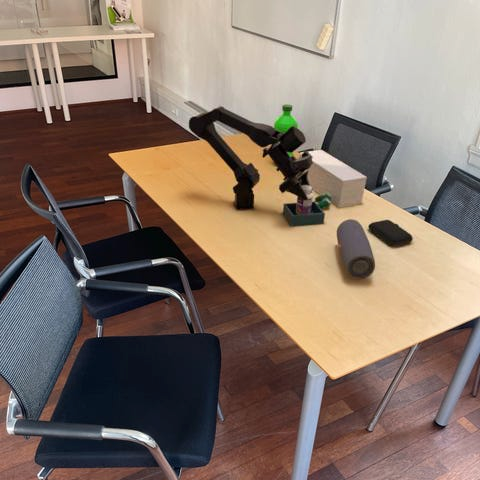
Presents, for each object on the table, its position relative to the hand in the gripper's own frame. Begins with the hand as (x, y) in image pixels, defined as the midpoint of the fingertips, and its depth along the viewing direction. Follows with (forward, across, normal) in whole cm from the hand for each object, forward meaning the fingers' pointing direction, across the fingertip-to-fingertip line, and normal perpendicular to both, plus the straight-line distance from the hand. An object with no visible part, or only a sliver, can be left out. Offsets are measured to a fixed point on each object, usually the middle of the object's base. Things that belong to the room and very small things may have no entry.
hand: (308, 196), depth 165 cm
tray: (+6, 0, +7) cm, 9 cm away
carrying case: (+28, +1, -16) cm, 32 cm away
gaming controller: (+8, +14, +5) cm, 17 cm away
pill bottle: (+4, 0, +6) cm, 7 cm away
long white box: (+7, +30, +6) cm, 31 cm away
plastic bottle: (-12, +49, +25) cm, 56 cm away
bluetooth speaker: (+22, -23, -9) cm, 33 cm away
